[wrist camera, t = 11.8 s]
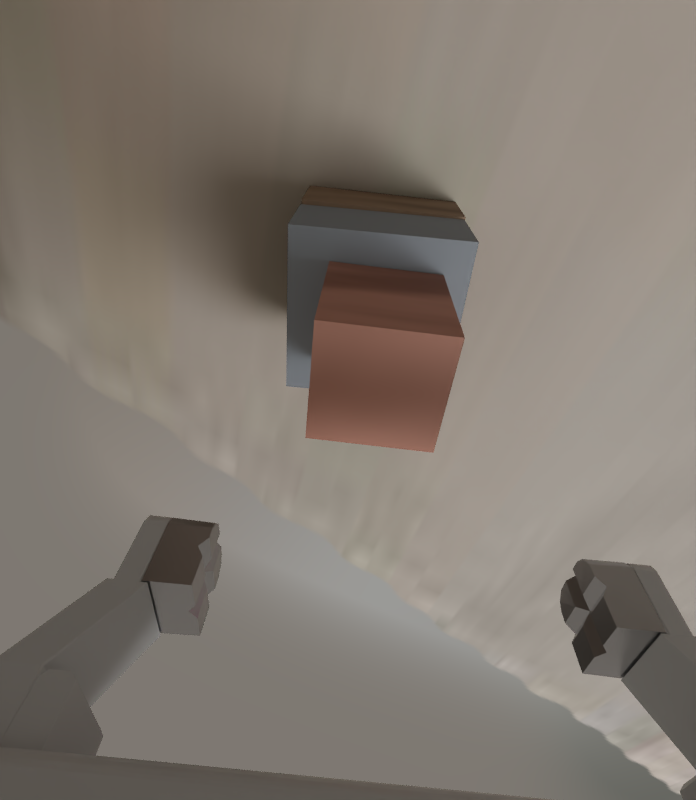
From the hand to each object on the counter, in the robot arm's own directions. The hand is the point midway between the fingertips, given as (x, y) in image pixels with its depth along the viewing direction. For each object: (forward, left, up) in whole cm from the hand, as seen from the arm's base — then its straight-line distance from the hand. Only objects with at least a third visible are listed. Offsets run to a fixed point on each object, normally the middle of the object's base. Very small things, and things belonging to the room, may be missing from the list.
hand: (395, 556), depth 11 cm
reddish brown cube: (0, 0, -13) cm, 13 cm away
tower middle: (0, -1, -17) cm, 17 cm away
